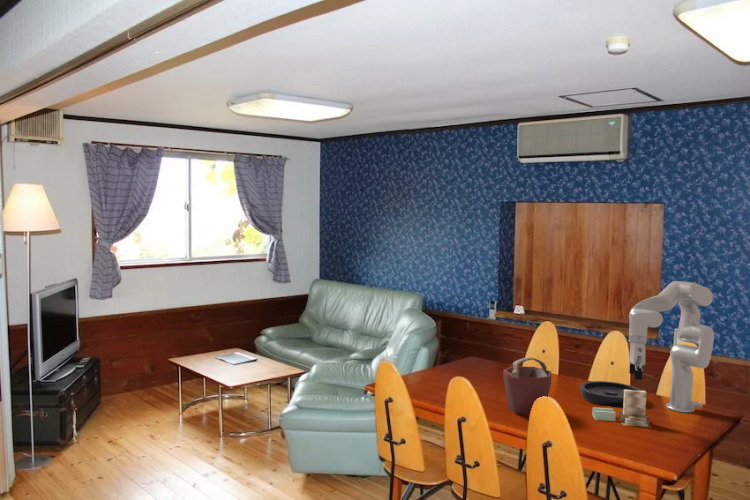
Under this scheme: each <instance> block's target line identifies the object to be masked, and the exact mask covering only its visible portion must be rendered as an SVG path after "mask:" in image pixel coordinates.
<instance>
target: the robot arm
mask: <svg viewBox="0 0 750 500" xmlns="http://www.w3.org/2000/svg"><path fill="white" fill-rule="evenodd" d="M713 300H714V295H713V292H712V291H711V290H710V288H707V287H706V286H703V285H701V284H698V283H696V282H689V281H682V280H680V281H679V280H674V281H672V282H670V283H669V284H668V285H667V286H666V287H664V288H663V289H662V291H660V292H659V293H658V294H657V295H655V296H651V297H648V298H645V299H643V300H641V301H639V302H637V303H636V304H635V305H634V306H633V307H632V308H631V310H630V312H629V314H628V319H629V322H628V324H629V325H628V326H629V327H628V342H629V343H630V344H629V345H630V346H629V369H628V370H629V372H628V373H629V374H631V375H634V379H635V380H637V381H638V380H643V374H644V373H643V370H644V369H643V367H645V365H646V344H647V343H648V342H647V341H648V328H657V327H660V326H661V325H662V324H663V322H664V317H663V315H662V314H661V313H660V312H666V311H671V310H672V309H673V308H674V307H675V306H676V305H677V304H678V305H679V308H680V319H679V323H678V329H677V338H678V340H679V341H682V342H684V343H690V344H694V345H698V346H693V345H688V344H682V343H678V344H674V345H673V346H672V347H671V348H670V352H669V354H670V361H671V363H670V364H671V379H670V394H669V395H670V396H669V397H670V398H669V402H668V403H666V405H665V406H666V408H667V409H669V410H672V411H674V412H678V413H694V412H695V411H696V407H699V408H703V407H704V406H703V403H702V402H698V401H693V386H694V385H693V384H694V372H693V369H692V368H693V367H694V368H698V369H706V368H707V367H708V366H709V364H710V362H711V357H712V353H713V348H714V347H713V345H714V340H715V333H714V330H713V328H712V327H710V326H708V325H704V324H700V320H701V312H700V309H699V307H698V306H700V307H708V306H710V305H711V303H712V302H713Z"/></svg>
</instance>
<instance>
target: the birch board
mask: <svg viewBox="0 0 750 500" xmlns="http://www.w3.org/2000/svg"><path fill="white" fill-rule="evenodd" d="M647 394H648V393H647V391H646V390H641V391H639V390H624V402H623V408H622V411H623V414H627V415H641V416H645V413H647V412H646V409H647Z"/></svg>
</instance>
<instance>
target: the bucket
mask: <svg viewBox="0 0 750 500" xmlns="http://www.w3.org/2000/svg"><path fill="white" fill-rule="evenodd" d="M528 361H535V362H536V363H538V364H539V366H540V367H541V368H539V367H536V366H521V365H520V364H523V363H524V362H525V363H526V362H528ZM502 373H503V374H502V376H503V382H504V389H505V394H506V400H507V406H508V407H507V408H508V409H509V410H510V411H512V413H513V414H516V415H521V416H527V417H530V416H529V414H530V411H531V408H532V405H533V403H534V401H535V400H536V399H537V398H539V397H542V396H547V397H549V394H550V389H551V387H552V370H548V367H547V365H546V363H545V362H544V361H541V360H540V359H537V358H534V357H523V358H520V359H517V360H514V361H513V362H512V366H510V367H508V368H505V369H503V372H502Z"/></svg>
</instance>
